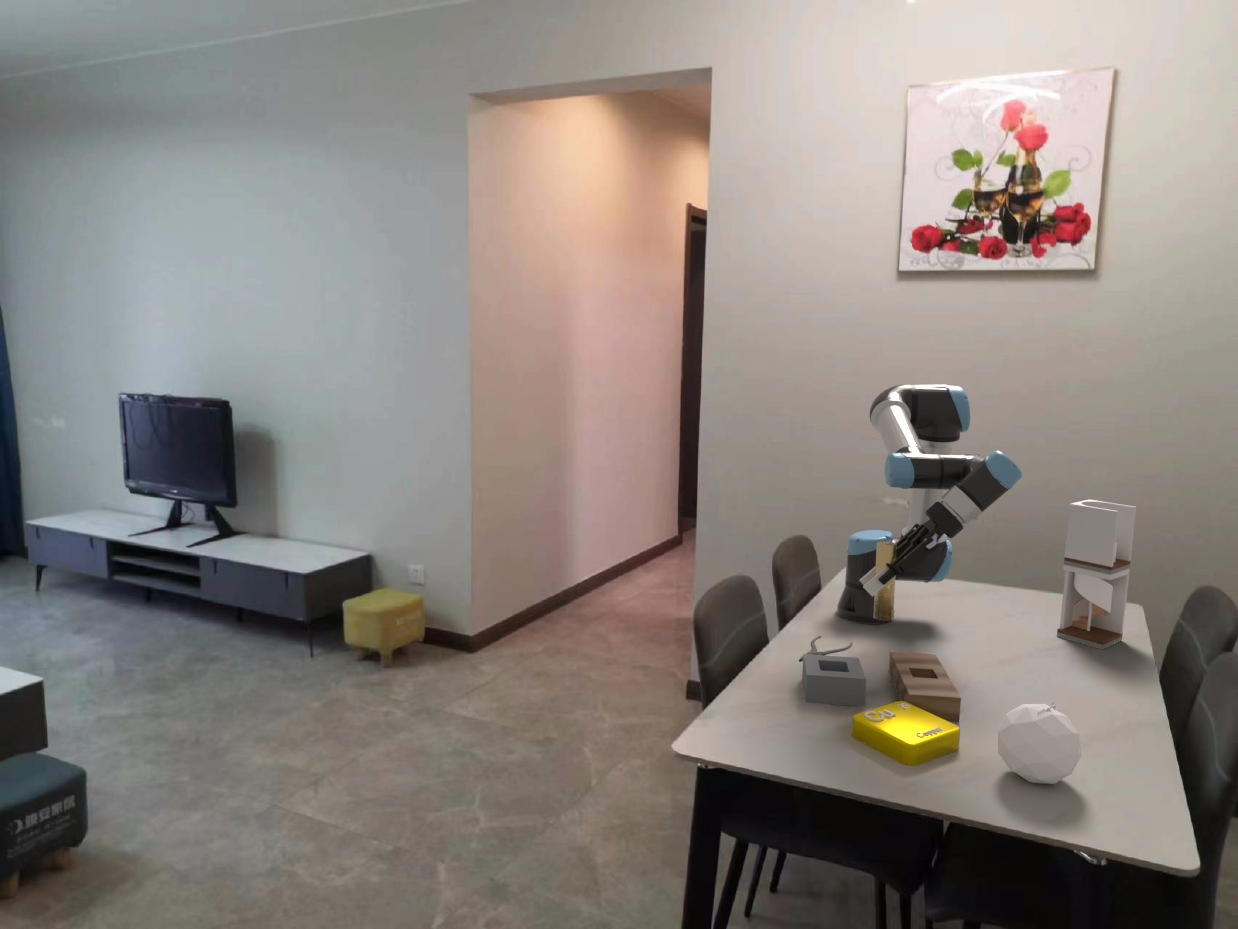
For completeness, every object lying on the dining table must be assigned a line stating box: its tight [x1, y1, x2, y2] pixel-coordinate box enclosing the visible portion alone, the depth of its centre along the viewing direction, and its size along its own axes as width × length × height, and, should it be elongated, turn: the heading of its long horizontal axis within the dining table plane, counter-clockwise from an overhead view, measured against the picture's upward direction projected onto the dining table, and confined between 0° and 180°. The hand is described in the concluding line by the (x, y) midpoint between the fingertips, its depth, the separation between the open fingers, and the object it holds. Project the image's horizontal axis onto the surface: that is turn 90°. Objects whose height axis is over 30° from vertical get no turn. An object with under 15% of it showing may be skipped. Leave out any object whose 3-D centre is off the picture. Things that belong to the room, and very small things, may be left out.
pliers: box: [798, 635, 854, 662], centre depth 213 cm, size 10×1×20 cm
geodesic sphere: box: [997, 702, 1082, 785], centre depth 153 cm, size 14×14×14 cm
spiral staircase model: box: [1056, 499, 1137, 650], centre depth 222 cm, size 11×11×35 cm
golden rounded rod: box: [873, 541, 897, 621], centre depth 183 cm, size 4×4×16 cm
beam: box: [888, 651, 962, 722], centre depth 187 cm, size 24×10×5 cm, turn 172°
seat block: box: [801, 653, 867, 707], centre depth 188 cm, size 12×12×6 cm
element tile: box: [851, 700, 961, 767], centre depth 166 cm, size 15×15×5 cm
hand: (865, 588), depth 184 cm, fingers closed on golden rounded rod, 4 cm apart
